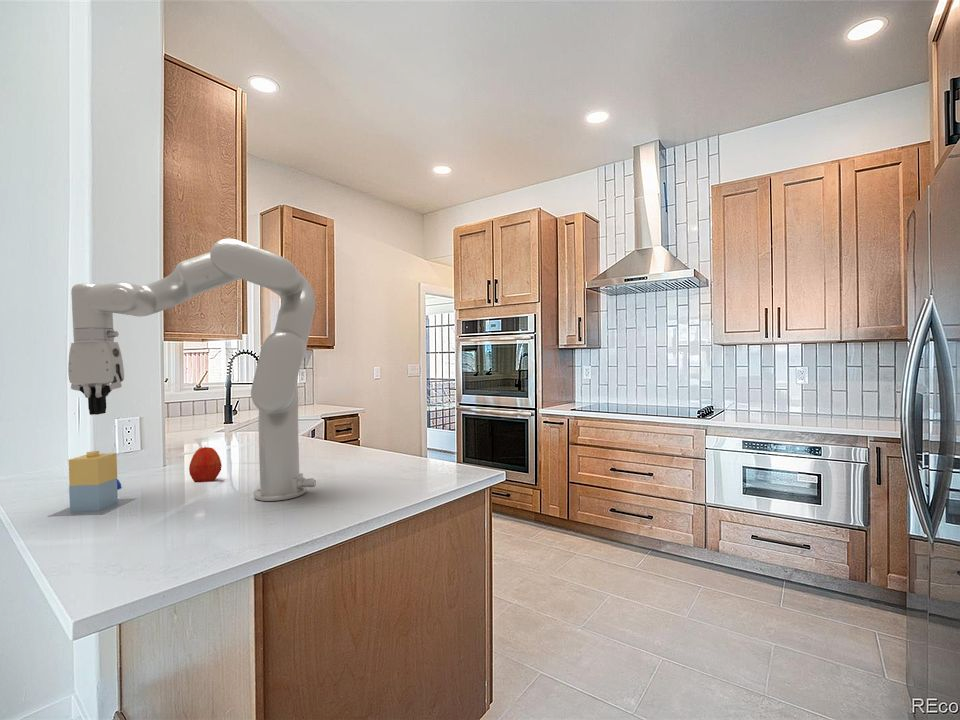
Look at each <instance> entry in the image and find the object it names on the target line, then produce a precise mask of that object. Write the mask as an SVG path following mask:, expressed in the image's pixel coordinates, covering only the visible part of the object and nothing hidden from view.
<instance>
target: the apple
mask: <svg viewBox="0 0 960 720" xmlns="http://www.w3.org/2000/svg"><path fill="white" fill-rule="evenodd" d="M222 466H223V465H222V460H221V456H220V455H219V453H218V452H217V451H216V449H215V448H213V447H209V446H204V447H199V448H198V449H196V451H194V454H193V455H192V457H191V461H190V463H189V467H188V470H189V476H190V477H191V479H192V480H193V482H194V483H212V482H214V481H216V480H217V478H218V476H219V474H220V473H221V471H222Z"/></svg>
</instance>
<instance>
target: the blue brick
mask: <svg viewBox="0 0 960 720" xmlns="http://www.w3.org/2000/svg"><path fill="white" fill-rule="evenodd" d="M117 479H118V477H117V478H115V479H112V480H110V481H107V482H104V483H102V484H99V485H77V486H69V485H68V494H69V507H70V512H78V511H100V510H102V509H104V508H106V507H108V506H111V505H113V504H115V503H117V502H118V499H119V498H118V497H119V495H118V490H117Z"/></svg>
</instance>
